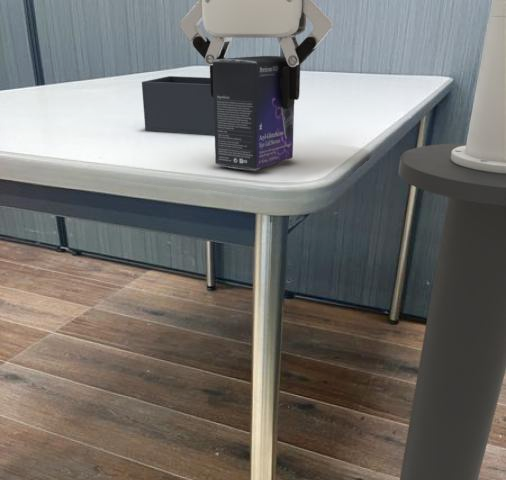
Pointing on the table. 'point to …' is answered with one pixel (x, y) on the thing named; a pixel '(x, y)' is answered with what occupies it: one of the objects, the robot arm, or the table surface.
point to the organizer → (179, 105)
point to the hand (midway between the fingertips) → (254, 104)
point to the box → (251, 113)
